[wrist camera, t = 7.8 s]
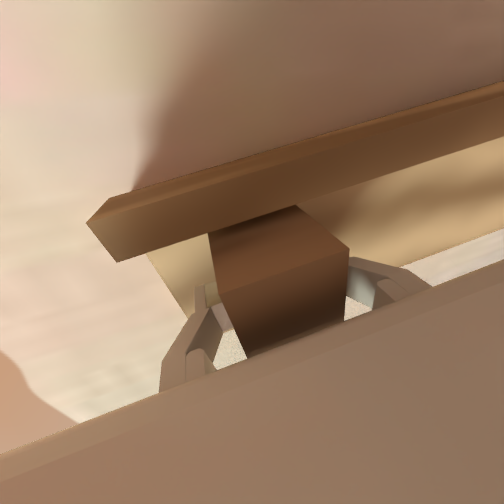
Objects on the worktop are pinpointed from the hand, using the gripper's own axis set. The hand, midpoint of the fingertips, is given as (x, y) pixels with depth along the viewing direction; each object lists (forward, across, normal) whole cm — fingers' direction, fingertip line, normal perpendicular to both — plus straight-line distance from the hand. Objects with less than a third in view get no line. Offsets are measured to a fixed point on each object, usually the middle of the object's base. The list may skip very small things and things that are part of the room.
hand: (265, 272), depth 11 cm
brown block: (+2, 0, 0) cm, 2 cm away
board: (+4, +8, 0) cm, 9 cm away
